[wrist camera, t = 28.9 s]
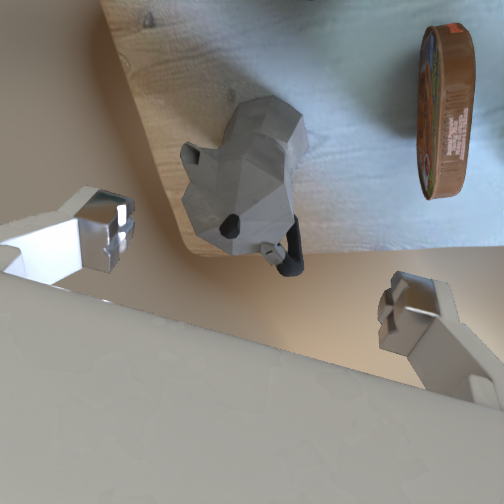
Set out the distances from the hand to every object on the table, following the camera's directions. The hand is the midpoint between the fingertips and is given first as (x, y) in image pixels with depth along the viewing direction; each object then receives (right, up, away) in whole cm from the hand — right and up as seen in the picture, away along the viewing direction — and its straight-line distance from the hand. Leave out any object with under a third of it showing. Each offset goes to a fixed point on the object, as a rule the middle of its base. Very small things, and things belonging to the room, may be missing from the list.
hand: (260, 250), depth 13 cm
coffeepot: (+2, +12, +33) cm, 35 cm away
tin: (+17, +14, +28) cm, 36 cm away
